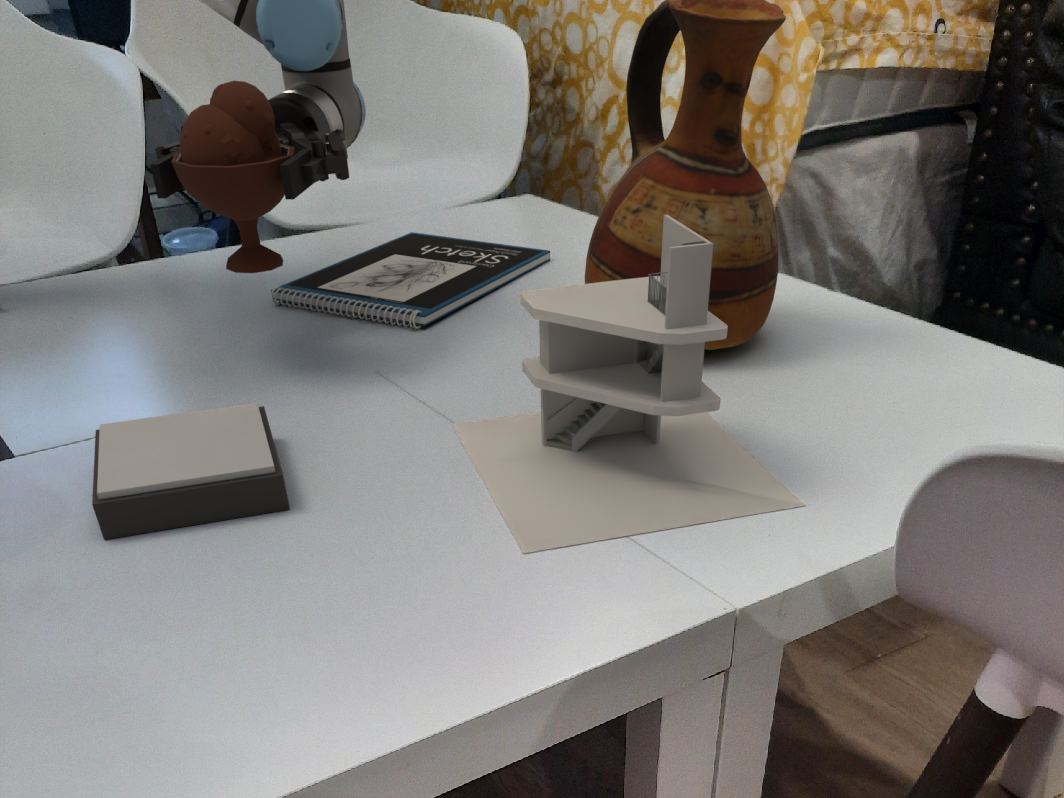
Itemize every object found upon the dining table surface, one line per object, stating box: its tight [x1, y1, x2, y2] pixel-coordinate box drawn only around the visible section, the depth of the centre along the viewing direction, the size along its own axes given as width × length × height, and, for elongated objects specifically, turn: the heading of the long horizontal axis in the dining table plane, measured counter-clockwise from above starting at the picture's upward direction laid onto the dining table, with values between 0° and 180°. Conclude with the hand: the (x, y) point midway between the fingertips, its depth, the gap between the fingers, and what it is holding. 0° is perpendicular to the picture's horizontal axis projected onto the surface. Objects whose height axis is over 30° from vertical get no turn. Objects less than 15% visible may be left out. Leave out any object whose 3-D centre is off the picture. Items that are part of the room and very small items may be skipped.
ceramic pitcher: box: [584, 0, 787, 351], centre depth 98 cm, size 20×20×30 cm
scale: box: [91, 402, 291, 541], centre depth 82 cm, size 14×14×4 cm
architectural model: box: [451, 215, 806, 554], centre depth 79 cm, size 23×24×18 cm
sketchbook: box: [270, 231, 551, 330], centre depth 123 cm, size 22×30×2 cm
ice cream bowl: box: [171, 80, 294, 274], centre depth 92 cm, size 11×11×15 cm
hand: (221, 182), depth 88 cm, fingers closed on ice cream bowl, 11 cm apart
